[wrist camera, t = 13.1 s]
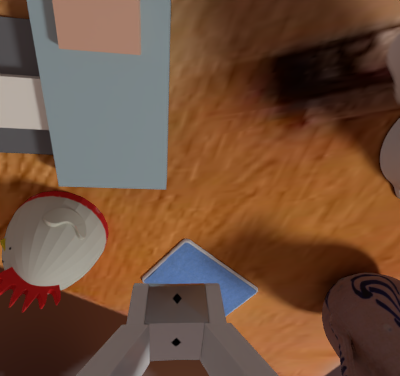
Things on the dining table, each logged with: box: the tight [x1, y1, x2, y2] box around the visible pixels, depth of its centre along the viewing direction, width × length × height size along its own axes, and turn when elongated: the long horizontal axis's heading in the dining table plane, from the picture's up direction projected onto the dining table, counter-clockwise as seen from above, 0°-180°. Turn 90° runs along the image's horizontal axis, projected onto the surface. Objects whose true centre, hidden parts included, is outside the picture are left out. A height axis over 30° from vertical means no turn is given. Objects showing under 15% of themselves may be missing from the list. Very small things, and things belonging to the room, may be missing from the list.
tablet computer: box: [142, 239, 258, 317], centre depth 53 cm, size 19×13×1 cm, turn 47°
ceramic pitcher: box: [322, 273, 400, 376], centre depth 46 cm, size 18×21×25 cm
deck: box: [27, 0, 171, 189], centre depth 34 cm, size 14×22×4 cm, turn 176°
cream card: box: [0, 74, 49, 130], centre depth 34 cm, size 9×6×2 cm, turn 86°
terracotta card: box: [52, 0, 141, 55], centre depth 28 cm, size 8×5×2 cm, turn 86°
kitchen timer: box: [0, 191, 108, 312], centre depth 38 cm, size 14×14×15 cm
